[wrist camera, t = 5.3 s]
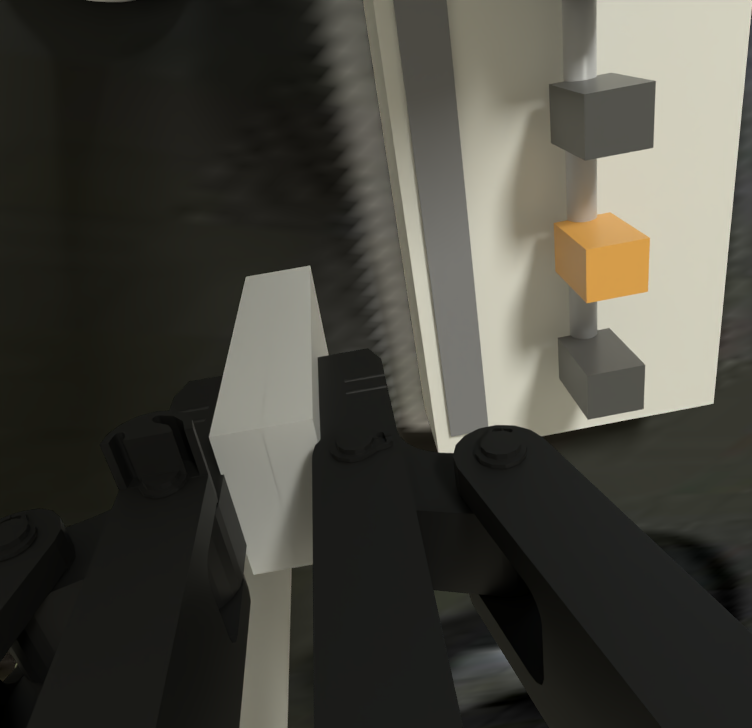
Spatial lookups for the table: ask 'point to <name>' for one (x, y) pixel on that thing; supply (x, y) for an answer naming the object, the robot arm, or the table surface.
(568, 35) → the breaker paddles
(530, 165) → the breaker panel
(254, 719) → the white peg stand
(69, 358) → the table surface
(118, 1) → the white rod
